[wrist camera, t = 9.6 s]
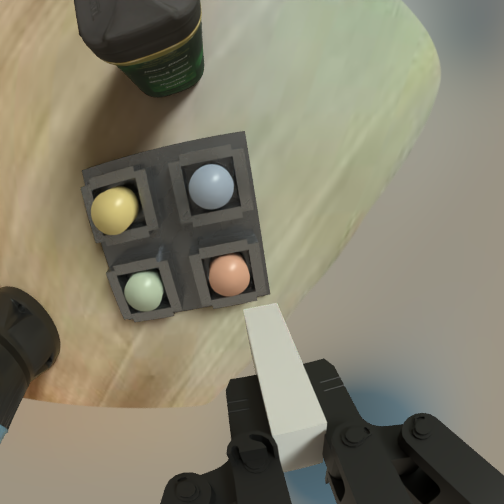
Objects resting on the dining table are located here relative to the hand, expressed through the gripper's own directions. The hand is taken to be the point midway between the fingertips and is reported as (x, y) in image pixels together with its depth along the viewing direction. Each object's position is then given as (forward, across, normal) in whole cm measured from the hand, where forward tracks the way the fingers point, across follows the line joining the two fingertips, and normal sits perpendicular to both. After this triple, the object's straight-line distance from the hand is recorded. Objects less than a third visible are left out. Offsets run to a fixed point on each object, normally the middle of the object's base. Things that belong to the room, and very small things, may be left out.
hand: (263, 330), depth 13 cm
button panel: (+23, -6, -1) cm, 23 cm away
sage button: (+21, -11, -6) cm, 25 cm away
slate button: (+21, -2, +4) cm, 21 cm away
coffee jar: (+23, -4, +20) cm, 30 cm away
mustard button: (+19, -12, +4) cm, 23 cm away
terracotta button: (+21, -1, -6) cm, 22 cm away
